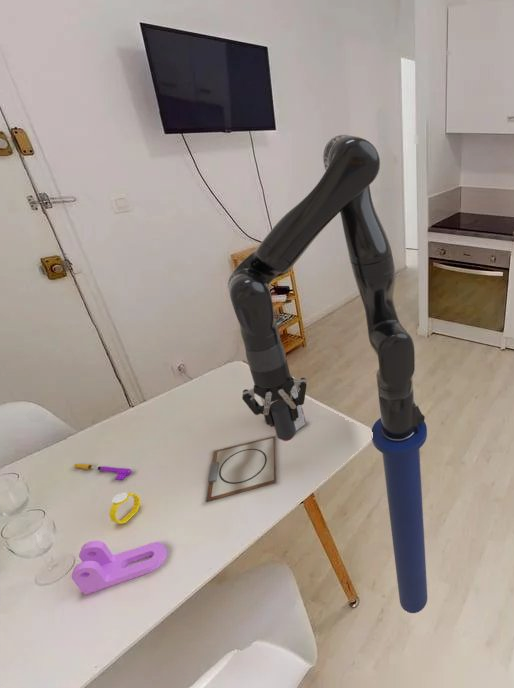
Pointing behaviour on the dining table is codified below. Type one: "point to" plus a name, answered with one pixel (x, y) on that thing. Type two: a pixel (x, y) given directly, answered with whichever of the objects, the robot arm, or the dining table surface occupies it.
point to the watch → (120, 500)
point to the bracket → (114, 565)
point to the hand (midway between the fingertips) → (283, 421)
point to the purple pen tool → (121, 471)
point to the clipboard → (242, 468)
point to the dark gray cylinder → (282, 420)
